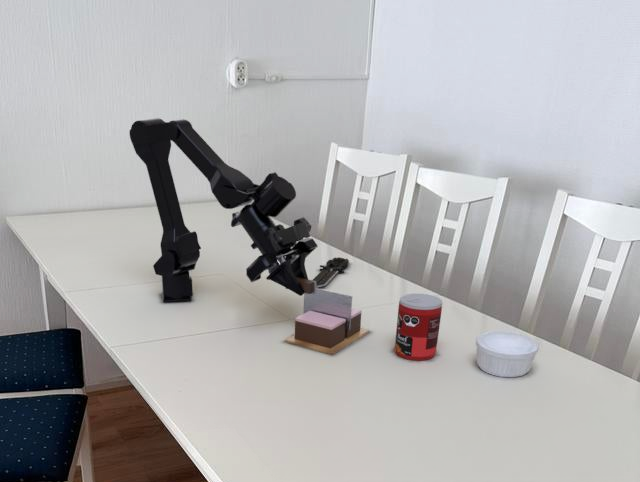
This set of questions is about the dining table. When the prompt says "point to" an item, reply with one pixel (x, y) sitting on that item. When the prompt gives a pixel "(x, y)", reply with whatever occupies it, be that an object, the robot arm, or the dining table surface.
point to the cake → (325, 328)
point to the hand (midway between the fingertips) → (306, 292)
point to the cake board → (325, 349)
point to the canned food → (418, 326)
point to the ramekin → (505, 353)
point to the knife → (332, 273)
